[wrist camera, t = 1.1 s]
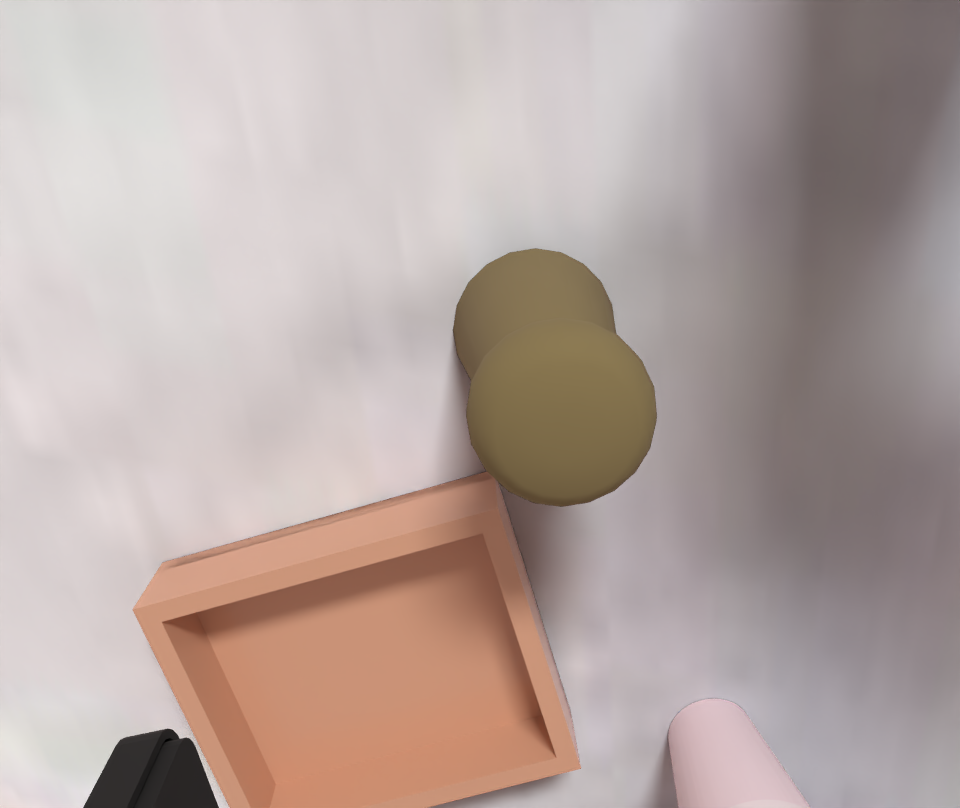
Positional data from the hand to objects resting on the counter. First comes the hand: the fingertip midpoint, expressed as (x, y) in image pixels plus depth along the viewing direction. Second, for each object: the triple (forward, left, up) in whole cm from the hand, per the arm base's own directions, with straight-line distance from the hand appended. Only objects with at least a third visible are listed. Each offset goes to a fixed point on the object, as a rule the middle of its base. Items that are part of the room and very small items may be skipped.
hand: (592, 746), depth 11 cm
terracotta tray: (+9, +12, -24) cm, 28 cm away
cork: (-1, +1, -24) cm, 24 cm away
